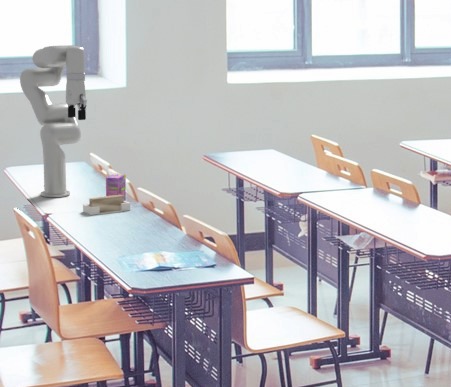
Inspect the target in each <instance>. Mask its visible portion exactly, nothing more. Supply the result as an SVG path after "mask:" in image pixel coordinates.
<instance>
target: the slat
mask: <svg viewBox="0 0 451 387" xmlns="http://www.w3.org/2000/svg"><path fill="white" fill-rule="evenodd" d="M88 201H89V203H88V204H89V206H90V207H96V206H99V207H100V213H104V212H112V211H120V210H121V203H124V196H123V195H113V196H106V195H105V196H98V197H89V199H88Z"/></svg>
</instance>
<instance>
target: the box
mask: <svg viewBox="0 0 451 387" xmlns="http://www.w3.org/2000/svg"><path fill="white" fill-rule="evenodd" d="M126 176H127V175H126V173H118V172H113V173H111V174H109V175H107V176H106V177H105V196H113V195H123V196H124V201H127V200H126V198H127V197H126V193H127V191H126V185H127V184H126V178H127V177H126Z"/></svg>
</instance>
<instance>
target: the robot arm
mask: <svg viewBox="0 0 451 387" xmlns="http://www.w3.org/2000/svg"><path fill="white" fill-rule="evenodd" d="M32 54H33V55H32V58H31V59H32V62H33V64H34V65H35V66H36V67H30V68H25V69H24V70H22V71H21V73H20V75H19V83H20V87H21V90H22V93H23V94H24V96H25V97H26V99H27V100H28V101H29V104H30V106H31V108H32V110H33V113H34V115H35V118H36V120H37V122H38V123H39V125H40V126H42V127H41V129H40V131H39V136H40V139H41V140H40V141H41V146H42V153H43V154H42V155H43V156H42V159H43V184H44V185H43V189H44V190H43V191H42V192H40V196H41V197H44V198H64V197H68V196H70V194H71V192H70V191H69V190H67V169H66V165H67V164H66V154H65V151H64V150H63V149H62V148H61V147H60V146H62V145H63V146H64V145H72V144H73V145H74V144H77V143H78V142H79V141H81V136H82V134H81V128H80V126H79V124H78V121H77V120H79V121H85V120H87V118H86V117H87V112H86V110H87V108H86V107H87V103H88V102H87V101H88V99H86V97H87V96H86V86H85V81H86V66H85V65H86V64H85V61H86V60H85V49H84V47H83V46H82V47H81V46H78V45H74V44H73V45H70V44H69V45H66V44H65V45H49V46H45V47H43V48H40V49H37V50H36V51H35V52H34V53H32ZM64 70H65V72H66V85H65V103H53V102H51V99H50V96H49V95H48V94H47V93H46V92H45V91H44V90H43V89H42V88H41V87H55V86H58V85H59V84H60V82H61V80H62V76H63V74H64ZM76 106H77V109H78V110H77V116H76ZM76 117H77V119H76Z"/></svg>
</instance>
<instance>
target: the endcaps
mask: <svg viewBox="0 0 451 387" xmlns="http://www.w3.org/2000/svg"><path fill="white" fill-rule="evenodd" d="M125 211H131V202H129V201H127V200H125V201H124V203H121V210H118V211H110V212H102V213H100V207H99V206H96V207H90V206H89V203H86V204H82V212H83V213H85V214H87V215H90V216H93V215H106V214H113V213H124V212H125Z"/></svg>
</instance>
